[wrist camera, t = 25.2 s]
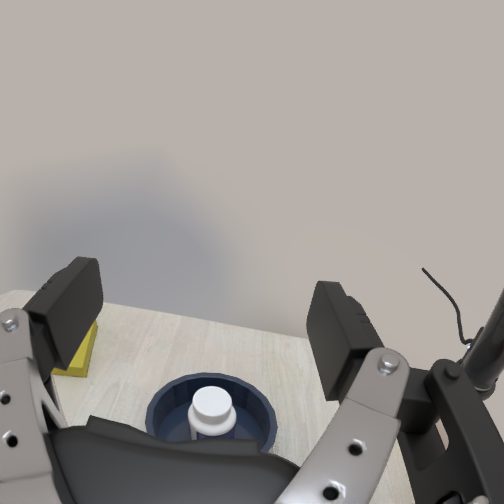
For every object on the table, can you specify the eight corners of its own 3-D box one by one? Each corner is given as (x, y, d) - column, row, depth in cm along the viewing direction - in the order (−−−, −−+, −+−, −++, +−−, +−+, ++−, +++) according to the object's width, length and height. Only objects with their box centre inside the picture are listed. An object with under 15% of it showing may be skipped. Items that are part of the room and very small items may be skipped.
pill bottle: (242, 441, 30) (249, 403, 26) (209, 463, 27) (209, 430, 23) (213, 415, 33) (215, 374, 30) (181, 434, 30) (175, 395, 26)
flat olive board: (97, 326, 46) (-3, 319, 39) (95, 317, 45) (-6, 310, 38) (86, 377, 35) (-25, 360, 29) (82, 367, 34) (-30, 351, 28)
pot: (178, 384, 38) (175, 359, 36) (277, 411, 36) (285, 387, 33) (134, 464, 25) (123, 446, 23) (256, 503, 23) (262, 491, 20)
